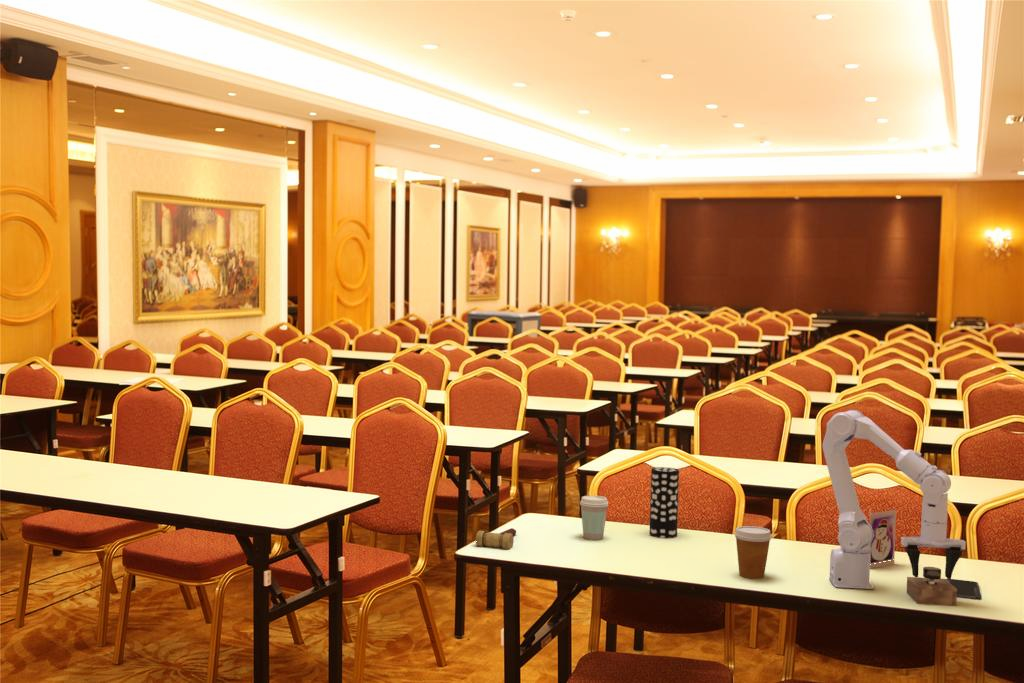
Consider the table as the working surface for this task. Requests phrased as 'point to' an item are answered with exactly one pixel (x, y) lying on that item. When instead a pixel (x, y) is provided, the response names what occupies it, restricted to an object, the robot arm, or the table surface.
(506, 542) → the gavel
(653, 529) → the white-spotted black cylinder
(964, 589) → the phone
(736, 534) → the disposable coffee cup
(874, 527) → the greeting card
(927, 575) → the dark round knob
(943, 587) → the box
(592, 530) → the coffee cup
